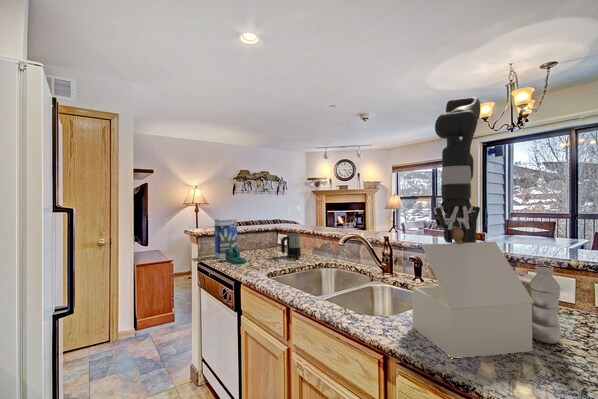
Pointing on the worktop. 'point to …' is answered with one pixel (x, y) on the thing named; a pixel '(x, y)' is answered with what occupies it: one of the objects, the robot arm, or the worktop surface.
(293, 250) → the milk frother
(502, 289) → the carton lid
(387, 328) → the worktop surface
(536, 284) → the plastic bottle
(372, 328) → the worktop surface
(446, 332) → the carton
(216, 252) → the string lights box
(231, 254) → the green toy boot
